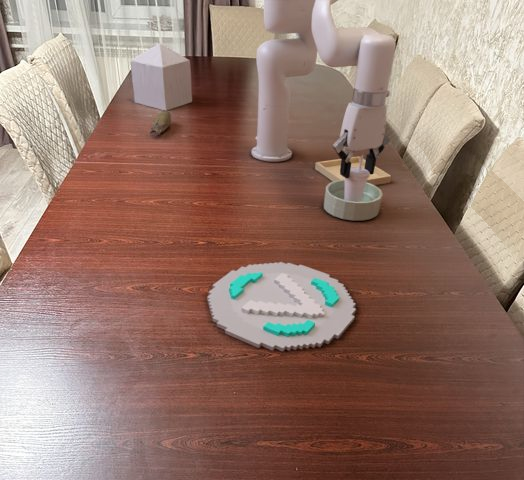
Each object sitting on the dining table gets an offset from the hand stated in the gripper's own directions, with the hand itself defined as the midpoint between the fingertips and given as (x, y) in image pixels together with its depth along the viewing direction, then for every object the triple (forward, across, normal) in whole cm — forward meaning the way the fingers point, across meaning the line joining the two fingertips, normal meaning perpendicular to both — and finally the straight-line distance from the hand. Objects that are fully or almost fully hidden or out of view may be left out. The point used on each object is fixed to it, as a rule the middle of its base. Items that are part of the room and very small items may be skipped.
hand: (356, 173), depth 130 cm
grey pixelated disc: (+10, +37, +31) cm, 49 cm away
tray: (+9, -13, -19) cm, 25 cm away
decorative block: (+10, +16, -107) cm, 109 cm away
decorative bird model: (+10, +27, -75) cm, 80 cm away
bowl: (+9, 0, 0) cm, 9 cm away
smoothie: (+9, 0, 0) cm, 9 cm away
